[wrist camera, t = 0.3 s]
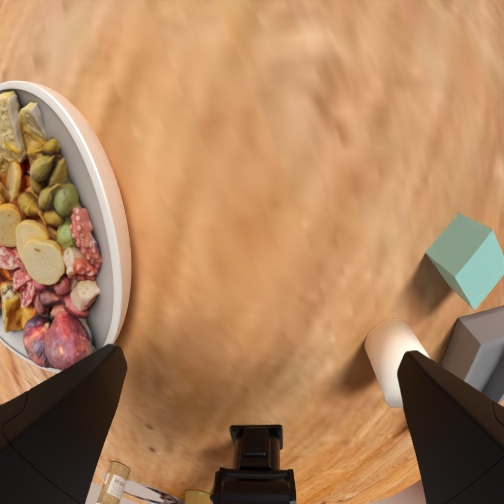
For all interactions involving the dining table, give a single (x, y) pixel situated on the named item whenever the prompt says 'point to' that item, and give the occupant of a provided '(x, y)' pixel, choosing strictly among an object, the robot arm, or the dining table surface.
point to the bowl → (58, 232)
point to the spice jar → (113, 484)
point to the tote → (479, 352)
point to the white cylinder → (390, 355)
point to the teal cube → (468, 259)
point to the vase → (196, 497)
